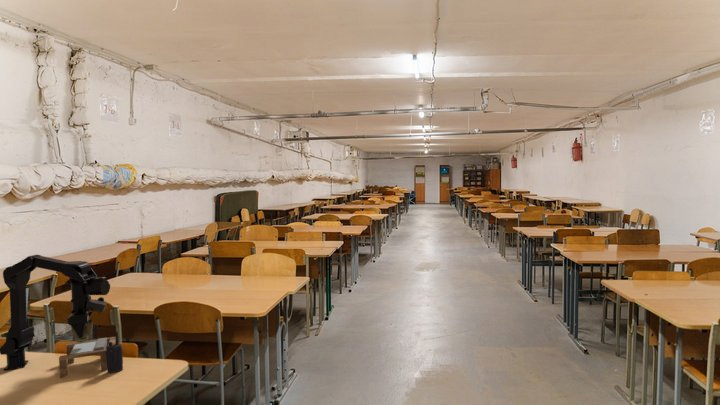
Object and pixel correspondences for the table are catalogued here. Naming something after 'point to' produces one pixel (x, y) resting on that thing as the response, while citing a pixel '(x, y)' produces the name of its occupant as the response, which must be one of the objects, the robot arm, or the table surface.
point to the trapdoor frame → (70, 357)
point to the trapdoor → (90, 346)
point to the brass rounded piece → (87, 331)
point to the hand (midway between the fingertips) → (82, 335)
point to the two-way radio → (114, 356)
